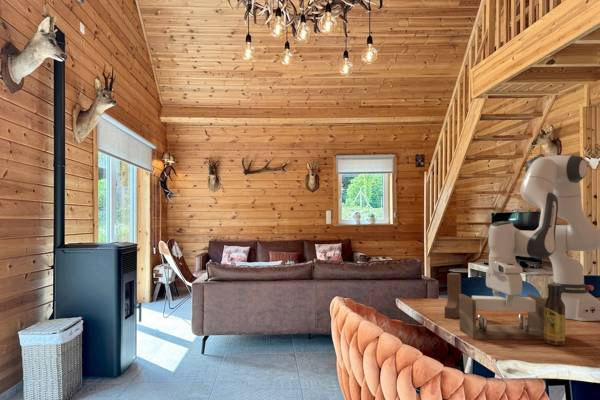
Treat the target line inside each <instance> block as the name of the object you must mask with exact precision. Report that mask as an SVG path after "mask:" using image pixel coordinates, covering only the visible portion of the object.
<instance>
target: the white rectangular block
mask: <svg viewBox="0 0 600 400" xmlns="http://www.w3.org/2000/svg"><path fill="white" fill-rule="evenodd" d="M471 298H472V299H474V300H476V311H497V312H498V311H499V312H500V311H501V312H523V313H524V312H525V313H526V312H527V313H528V312H536V301H535V300H533V299H531V298H529V297H526V296H525V297H524V296H514V298H513V300H512V306H511V307H507V306H505V301H506V296H500V297H499V296H494V295H492V296H491V295H490V296H489V295H471Z"/></svg>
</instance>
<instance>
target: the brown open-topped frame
mask: <svg viewBox="0 0 600 400" xmlns="http://www.w3.org/2000/svg"><path fill="white" fill-rule="evenodd" d="M527 297H529V298H531V299H533V300H535V301H536V312H527V316H524V314H518V325H488V323H487V322H488V321H487V318H488V317H486V316H483V314H478V315H477V310H476V300H474V299H472V297H470V296H468V295H466V294H463V293H461V294H459V310H460V316H459V331H460V332H462V333H463V334H465V335H466V336H467V337H469V338H471V339H472V340H544V306H545V303H546V300H547V298H544V297H541V296H539V295H535V294H532V293H527ZM477 318H478V319H477ZM477 320H478V325H477Z"/></svg>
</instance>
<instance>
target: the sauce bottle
mask: <svg viewBox="0 0 600 400" xmlns="http://www.w3.org/2000/svg"><path fill="white" fill-rule="evenodd" d="M561 289H562V285H560V284H553V282H552V283H548V284H547V298H546V299H547V300H546V303H545V306H544V339H543V341H544V342H545V343H546V344H548V345H549V344H550V345H552V346H564V345H565V343H566V318H565V305H564V303H563V301H562V299H561Z"/></svg>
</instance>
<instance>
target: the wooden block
mask: <svg viewBox="0 0 600 400" xmlns="http://www.w3.org/2000/svg"><path fill="white" fill-rule="evenodd" d="M461 275H462V274H461V273H459V272H450V273H447V302H446V305H445V306H444V318H447V319H457V318H458V317H459V318H460V310H459V294H462V280H461V279H462V276H461Z"/></svg>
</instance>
